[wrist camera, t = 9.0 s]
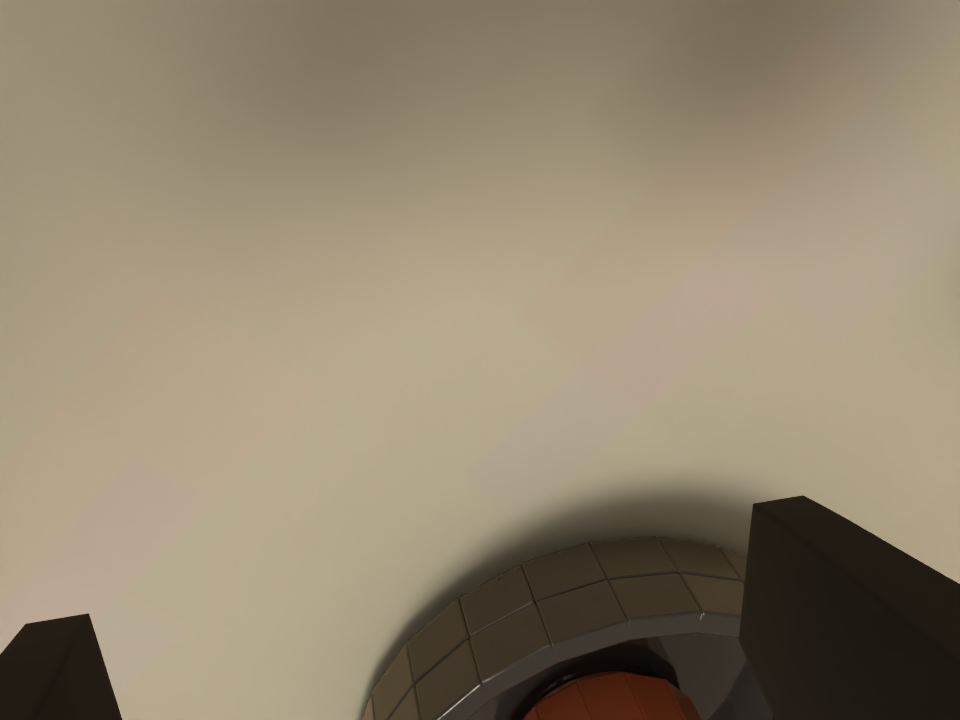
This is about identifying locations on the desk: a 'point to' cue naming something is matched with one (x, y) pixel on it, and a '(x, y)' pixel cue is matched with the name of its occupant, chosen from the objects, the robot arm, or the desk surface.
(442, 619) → the pan
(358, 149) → the desk surface
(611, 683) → the terracotta cup
